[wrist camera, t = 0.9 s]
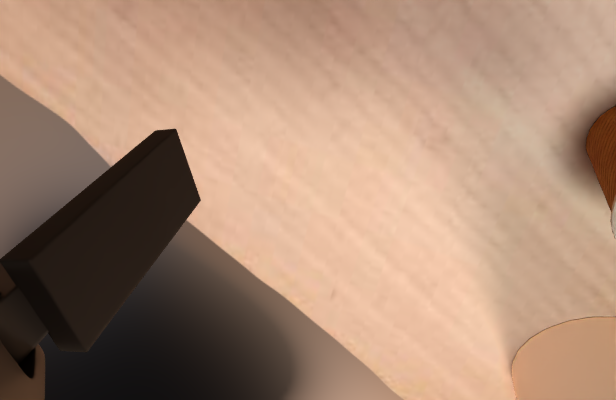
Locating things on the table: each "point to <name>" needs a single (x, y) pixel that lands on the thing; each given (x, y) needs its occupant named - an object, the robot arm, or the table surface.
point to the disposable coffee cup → (605, 157)
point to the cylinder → (568, 362)
